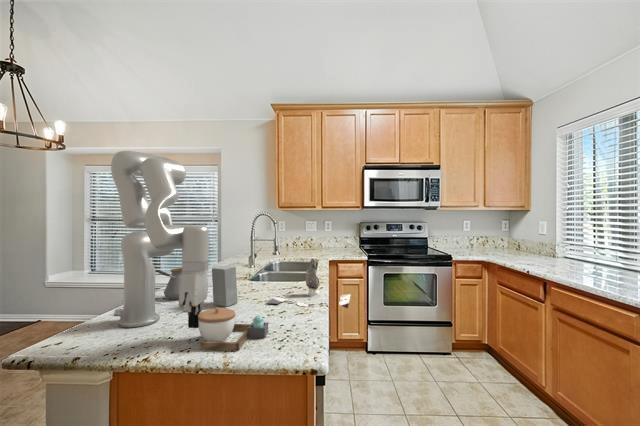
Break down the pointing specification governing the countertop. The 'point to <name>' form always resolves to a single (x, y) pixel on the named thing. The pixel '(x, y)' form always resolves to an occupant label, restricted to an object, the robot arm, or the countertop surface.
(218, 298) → the skincare box
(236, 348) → the walnut bay
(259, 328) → the dark grey open box
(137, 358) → the countertop surface
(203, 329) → the lidded jar
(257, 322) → the dome
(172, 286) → the coffee pot
